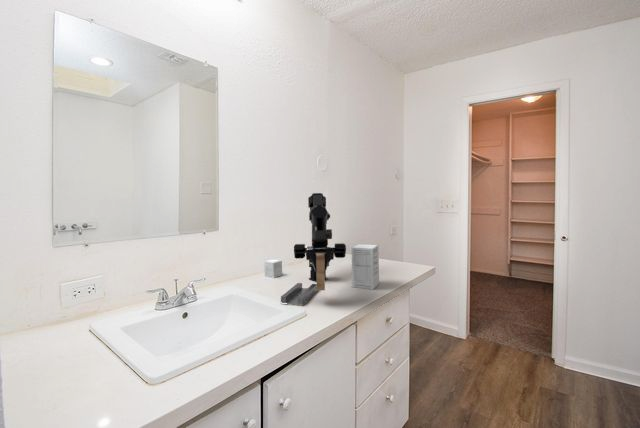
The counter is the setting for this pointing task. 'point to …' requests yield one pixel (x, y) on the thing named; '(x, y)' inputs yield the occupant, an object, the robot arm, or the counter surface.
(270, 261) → the product box
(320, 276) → the brown wooden block
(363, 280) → the supplement box
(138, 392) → the counter surface
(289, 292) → the bottom track
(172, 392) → the counter surface
